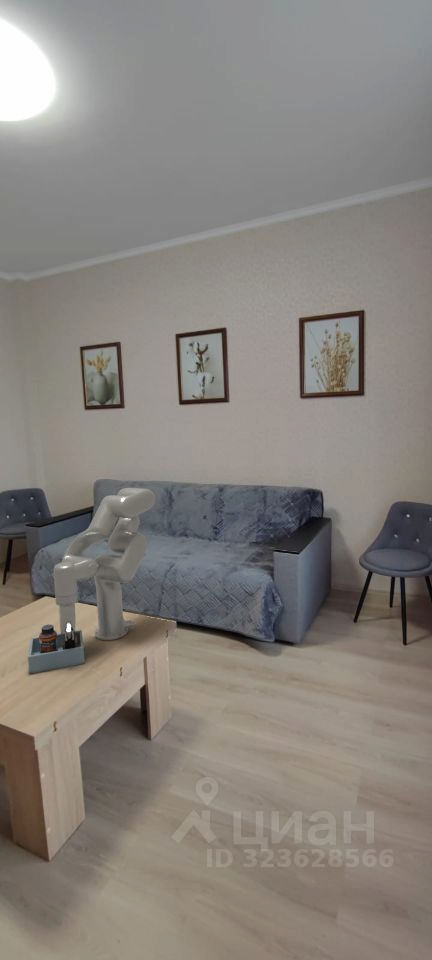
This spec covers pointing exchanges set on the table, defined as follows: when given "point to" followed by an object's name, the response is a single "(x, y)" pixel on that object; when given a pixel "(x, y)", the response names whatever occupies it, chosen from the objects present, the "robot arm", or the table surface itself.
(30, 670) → the tote
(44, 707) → the table surface
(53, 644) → the supplement bottle
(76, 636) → the walnut cube
